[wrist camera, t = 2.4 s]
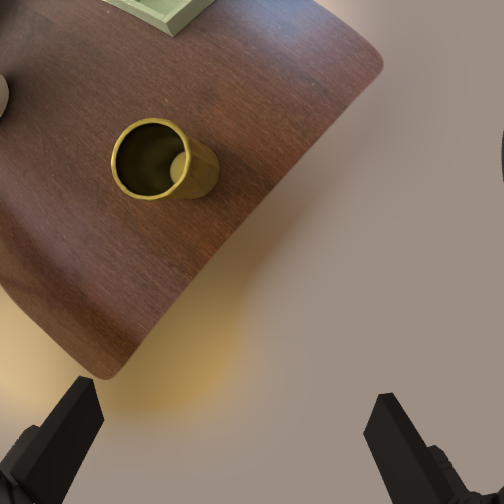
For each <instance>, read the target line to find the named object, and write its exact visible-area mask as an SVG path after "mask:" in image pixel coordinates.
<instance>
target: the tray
mask: <svg viewBox="0 0 504 504" xmlns="http://www.w3.org/2000/svg"><path fill="white" fill-rule="evenodd" d="M103 1H105V2H107V3H109V4H111V5H114V6H116V7H118V8H120V9H122V10H124V11H126V12H128V13H130V14H132V15H134V16H136V17H138V18H140V19H141V20H143V21H145V22H147V23H149V24H151V25H152V26H154V27H156V28H158V29H160V30H161V31H163V32H165V33H166V34H168V35H170V36H172V37H174V36H175V35H176V34H177V33H178V32H179V31H180V30H182V29H183V28H184V27H185V26H186V25H187V24H188V23H189V22H190V21H192V20H193V19H194V18H195V17H196V16H197V15H198V14H200V13H201V12H202V11H203V10H204V9H206V8H207V7H208V6H209V5H211V4H212V3H213V2H214V1H216V0H103Z"/></svg>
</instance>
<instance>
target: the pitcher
mask: <svg viewBox="0 0 504 504" xmlns="http://www.w3.org/2000/svg"><path fill="white" fill-rule="evenodd" d="M8 98H9V90H8V87H7V83H6V80H5V78H4V77H3V75H2V74H1V73H0V117H1V116H2V114H3V112H4V110H5V108H6V106H7V102H8Z"/></svg>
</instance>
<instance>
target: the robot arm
mask: <svg viewBox="0 0 504 504" xmlns="http://www.w3.org/2000/svg"><path fill="white" fill-rule="evenodd" d="M103 422H104V417H103V414H102V411H101V407H100V404H99V401H98V397H97V394H96V390H95V386H94V382H93V379H90V378H86V377H82V376H79V377H78V378H77V379H76V380H75V382H74V383H73V384H72V386H71V387H70V388H69V389H68V391H67V392H66V394H65V395H64V396H63V397H62V398H61V400H60V401H59V403H58V404H57V405H56V406H55V408H54V409H53V410H52V412H51V413H50V414H49V416H48V417H47V418H46V420H45V421H44V423H43V424H42V425H41V426H40V427H38V426H35V425H32V426H31V427H29V428H27V429H26V430H24V431H23V433H22V434H21V436H20V437H19V439H17V441H16V442H15V445H13V446H12V448H11V449H10V450H9V452H8V453H7V454H6V456H5V457H4V459H3V460H2V461H1V463H0V504H34V503H35V504H62V502H63V500H64V498H65V496H66V494H67V492H68V490H69V488H70V486H71V484H72V482H73V480H74V477H75V476H76V474H77V472H78V470H79V468H80V466H81V464H82V462H83V460H84V458H85V456H86V454H87V452H88V450H89V448H90V446H91V445H92V443H93V441H94V439H95V437H96V435H97V433H98V431H99V429H100V428H101V426H102V424H103ZM363 434H364V437H365V439H366V441H367V443H368V446H369V448H370V451H371V452H372V455H373V458H374V460H375V462H376V465H377V467H378V469H379V471H380V474H381V476H382V479H383V481H384V483H385V486H386V488H387V491H388V493H389V496H390V498H391V500H392V503H393V504H504V487H502V488H501V489H500V490H499V492H498V493H493V494H488V495H483V496H482V495H481V494H480V493H477V492H470V491H469V490H468V489H467V488H466V486H465V485H464V483H463V482H462V480H461V478H460V477H459V475H458V474H457V472H456V470H455V469H454V468H453V467H452V464H451V462H450V461H448V458H447V456H446V455H445V453H444V452H443V451H442V450H441V449H439V448H438V447H437V446H436V445H433V446H430V447H427V446H426V445H425V443H424V441H423V440H422V438H421V436H420V435H419V433H418V432H417V430H416V429H415V427H414V425H413V424H412V422H411V421H410V419H409V417H408V416H407V414H406V413H405V411H404V410H403V408H402V407H401V405H400V403H399V402H398V400H397V399H396V397H395V396H394V394H393V393H386V394H379V395H378V398H377V400H376V403H375V406H374V408H373V411H372V414H371V416H370V419H369V421H368V424H367V426H366V428H365V431H364V433H363Z"/></svg>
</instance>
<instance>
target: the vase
mask: <svg viewBox="0 0 504 504" xmlns="http://www.w3.org/2000/svg"><path fill="white" fill-rule="evenodd" d="M111 167H112V173H113V176H114V179H115V181H116V182H117V184H118V185H119V187H120V188H121V189H122V191H123V192H124V193H126V194H127V195H129V196H131V197H133V198H135V199H139V200H148V201H158V200H166V199H170V198H186V199H196V198H200V197H202V196H204V195H206V194H208V193H209V192H210V191H211V190H212V189H213V188H214V186H215V185H216V183H217V181H218V177H219V173H220V165H219V161H218V158H217V156H216V154H215V153H214V152H213V151H212V150H211V149H210V148H209V147H208V146H206V145H204V144H201V143H200V142H199V141H197V140H196V139H194V138H192V137H191V136H190V135H188V134H187V133H186V132H185V131H184V130H182V129H181V128H180V127H179V126H178V125H177V124H175V123H174V122H172V121H170V120H166V119H160V118H147V119H143V120H140V121H138V122H136V123H134V124H132V125H131V126H129V127H128V128H127V129H126V130H125V131H124V132H123V133H122V134H121V136H120V137H119V139H118V140H117V142H116V145H115V147H114V150H113V154H112V160H111Z"/></svg>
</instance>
